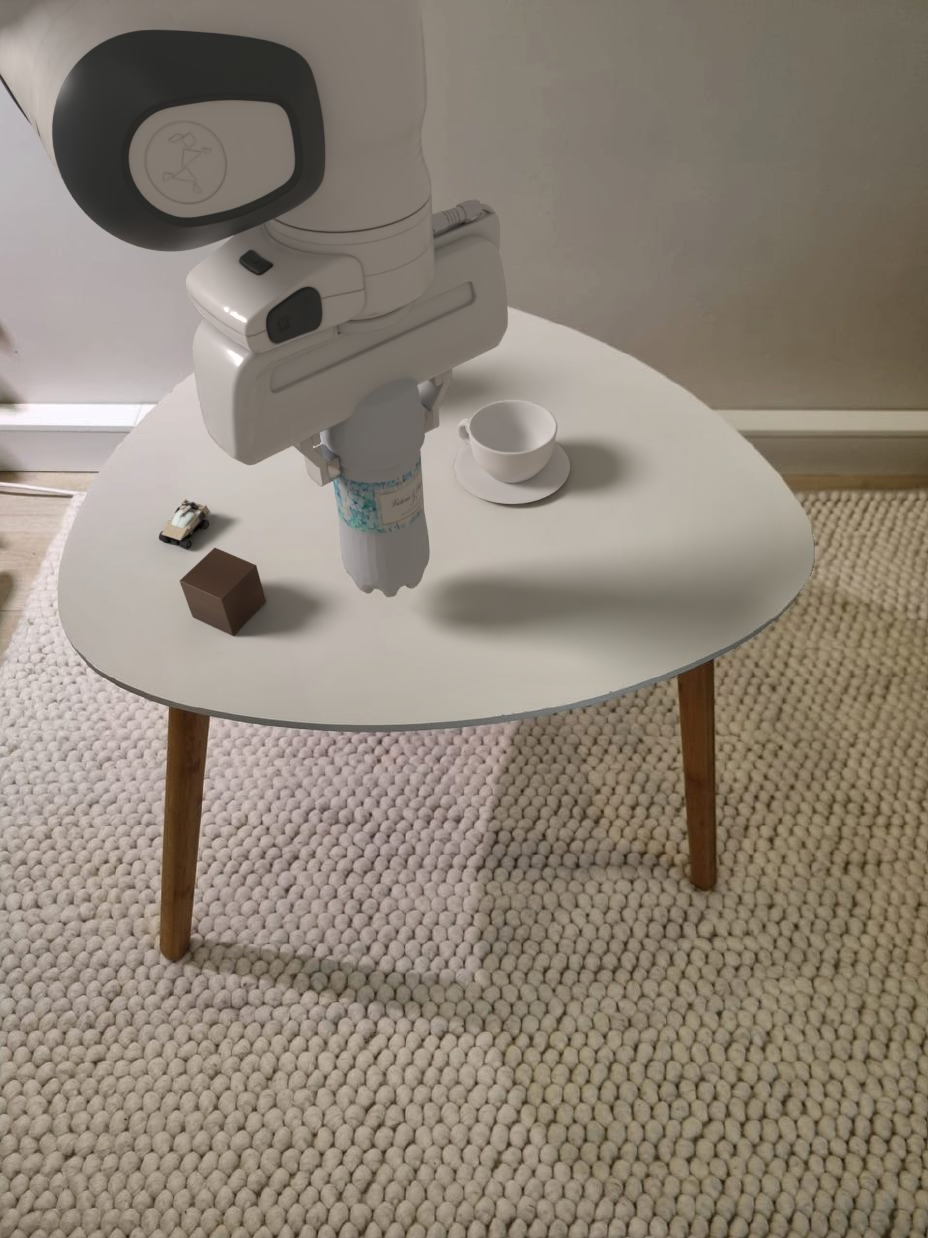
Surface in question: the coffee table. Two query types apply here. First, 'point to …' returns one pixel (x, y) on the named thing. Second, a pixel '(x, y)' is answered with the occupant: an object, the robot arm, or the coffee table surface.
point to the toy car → (185, 524)
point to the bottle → (382, 489)
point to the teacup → (511, 453)
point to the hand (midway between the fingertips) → (374, 452)
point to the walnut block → (223, 591)
